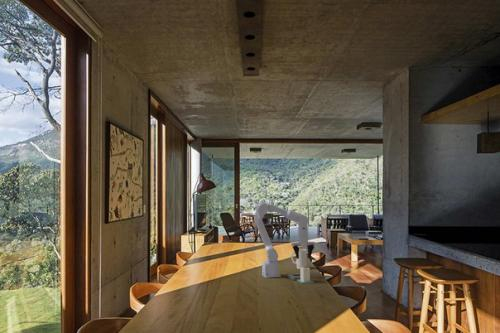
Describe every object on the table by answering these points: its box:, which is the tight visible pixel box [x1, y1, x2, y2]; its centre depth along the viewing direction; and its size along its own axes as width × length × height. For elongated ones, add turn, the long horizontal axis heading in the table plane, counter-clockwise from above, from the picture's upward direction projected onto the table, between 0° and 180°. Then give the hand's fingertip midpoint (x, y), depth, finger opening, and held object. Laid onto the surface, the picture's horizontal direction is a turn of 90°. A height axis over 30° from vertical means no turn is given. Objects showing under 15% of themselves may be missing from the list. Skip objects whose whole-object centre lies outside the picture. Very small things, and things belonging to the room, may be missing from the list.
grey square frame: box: [286, 272, 300, 281], centre depth 228 cm, size 9×9×2 cm
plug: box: [299, 266, 311, 282], centre depth 219 cm, size 4×4×7 cm
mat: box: [296, 279, 315, 284], centre depth 219 cm, size 7×7×1 cm
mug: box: [290, 248, 308, 270], centre depth 255 cm, size 10×7×12 cm, turn 80°
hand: (303, 258), depth 234 cm, fingers open, 7 cm apart
